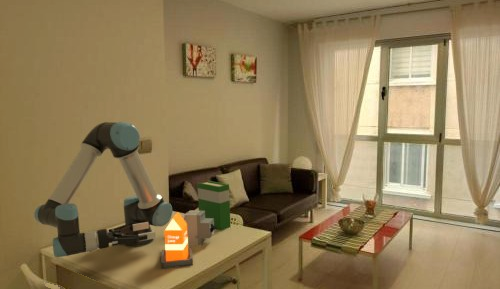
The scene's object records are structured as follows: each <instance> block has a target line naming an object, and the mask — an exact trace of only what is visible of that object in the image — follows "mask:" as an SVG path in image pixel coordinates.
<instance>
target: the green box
mask: <svg viewBox="0 0 500 289" xmlns="http://www.w3.org/2000/svg"><path fill="white" fill-rule="evenodd" d="M197 199H198V200H197V202H198V204H197V205H198V211H205V218H214V226H216V228H215V229H214V230H217V231H220V232H222V231H224V230H227V229H229V228H231V206H230V204H231V203H230V184H229V183H223V182H217V181H212V180H205V182H197Z"/></svg>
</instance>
